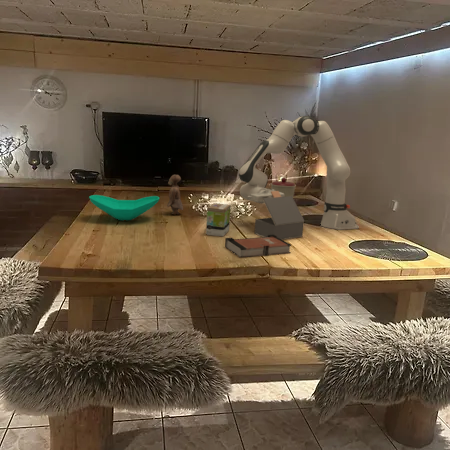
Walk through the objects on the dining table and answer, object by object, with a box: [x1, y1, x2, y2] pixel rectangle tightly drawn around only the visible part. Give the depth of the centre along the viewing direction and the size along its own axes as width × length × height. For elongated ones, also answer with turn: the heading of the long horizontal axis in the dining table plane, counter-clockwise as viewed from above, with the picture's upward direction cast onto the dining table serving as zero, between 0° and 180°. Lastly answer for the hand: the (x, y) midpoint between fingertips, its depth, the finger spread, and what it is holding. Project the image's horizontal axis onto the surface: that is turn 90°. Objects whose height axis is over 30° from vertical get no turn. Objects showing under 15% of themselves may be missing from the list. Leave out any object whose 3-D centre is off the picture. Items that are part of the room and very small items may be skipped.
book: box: [224, 235, 292, 258], centre depth 206 cm, size 26×18×5 cm
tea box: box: [205, 202, 232, 237], centre depth 234 cm, size 15×10×15 cm
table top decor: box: [88, 194, 160, 221], centre depth 254 cm, size 40×28×13 cm
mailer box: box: [254, 217, 305, 241], centre depth 235 cm, size 20×16×8 cm
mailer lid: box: [263, 191, 305, 225], centre depth 231 cm, size 20×20×1 cm
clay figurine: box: [166, 174, 184, 215], centre depth 272 cm, size 13×10×25 cm
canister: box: [270, 177, 297, 198], centre depth 312 cm, size 18×18×21 cm
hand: (277, 199), depth 234 cm, fingers closed, pressing on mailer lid
